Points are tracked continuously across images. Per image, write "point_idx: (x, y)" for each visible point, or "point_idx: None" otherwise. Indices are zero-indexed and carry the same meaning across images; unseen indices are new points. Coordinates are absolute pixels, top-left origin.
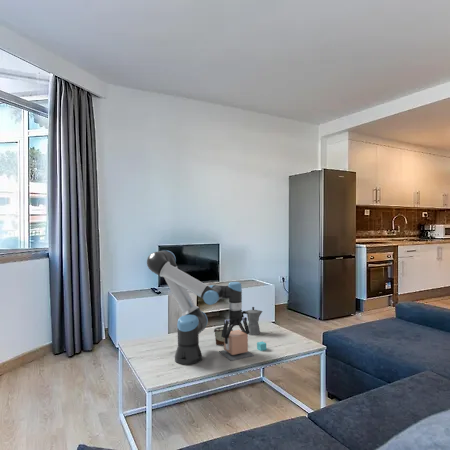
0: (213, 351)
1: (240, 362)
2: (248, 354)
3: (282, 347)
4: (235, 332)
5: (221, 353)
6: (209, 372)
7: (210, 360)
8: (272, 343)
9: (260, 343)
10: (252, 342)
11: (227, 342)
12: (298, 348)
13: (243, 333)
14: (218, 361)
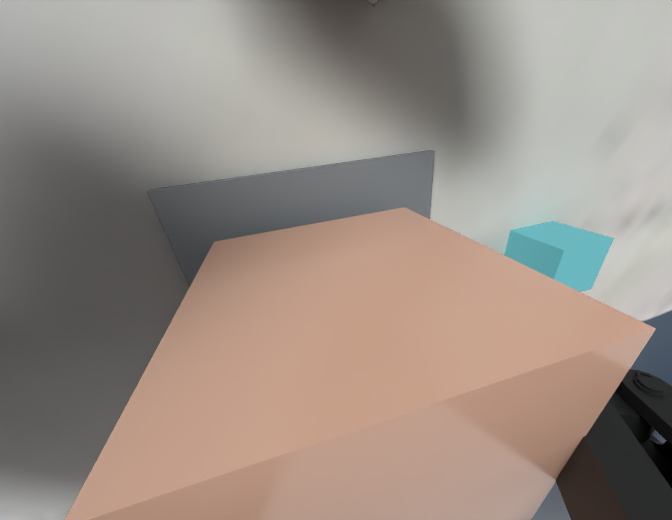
0: (71, 136)
1: None
2: None
3: (626, 254)
4: (438, 491)
5: (179, 259)
6: (57, 509)
7: (46, 366)
8: (663, 159)
9: (562, 281)
10: (604, 40)
11: None
12: (652, 289)
13: (513, 512)
14: (134, 388)
